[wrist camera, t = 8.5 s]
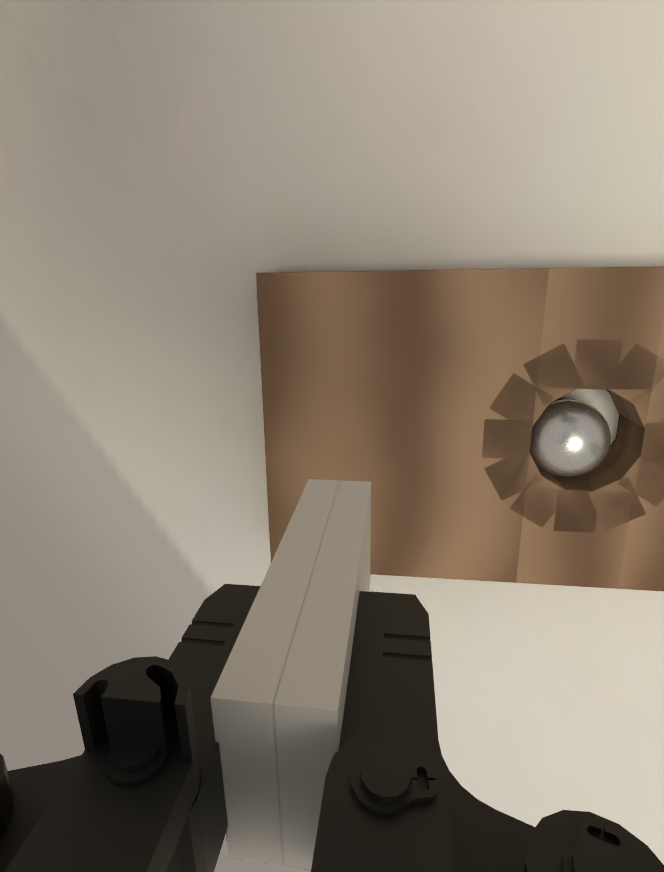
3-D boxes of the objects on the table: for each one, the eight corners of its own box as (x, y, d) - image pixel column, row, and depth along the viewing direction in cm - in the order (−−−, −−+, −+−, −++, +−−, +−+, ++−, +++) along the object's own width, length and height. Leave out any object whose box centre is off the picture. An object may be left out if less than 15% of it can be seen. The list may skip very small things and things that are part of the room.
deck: (282, 543, 27) (271, 568, 25) (270, 274, 23) (256, 272, 21) (676, 564, 25) (706, 593, 22) (738, 267, 21) (781, 264, 19)
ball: (528, 406, 25) (517, 399, 22) (607, 399, 23) (607, 391, 20) (532, 475, 24) (521, 478, 21) (612, 474, 23) (613, 477, 20)
